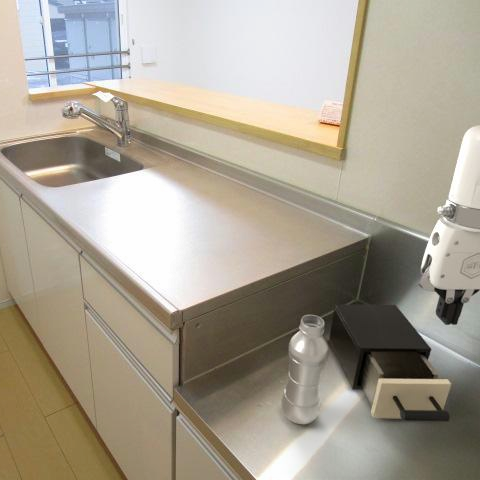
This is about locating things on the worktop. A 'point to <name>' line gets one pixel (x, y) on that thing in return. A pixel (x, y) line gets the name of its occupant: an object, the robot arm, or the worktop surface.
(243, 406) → the worktop surface
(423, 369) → the beige drawer
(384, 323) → the black rectangular box
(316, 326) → the plastic bottle
